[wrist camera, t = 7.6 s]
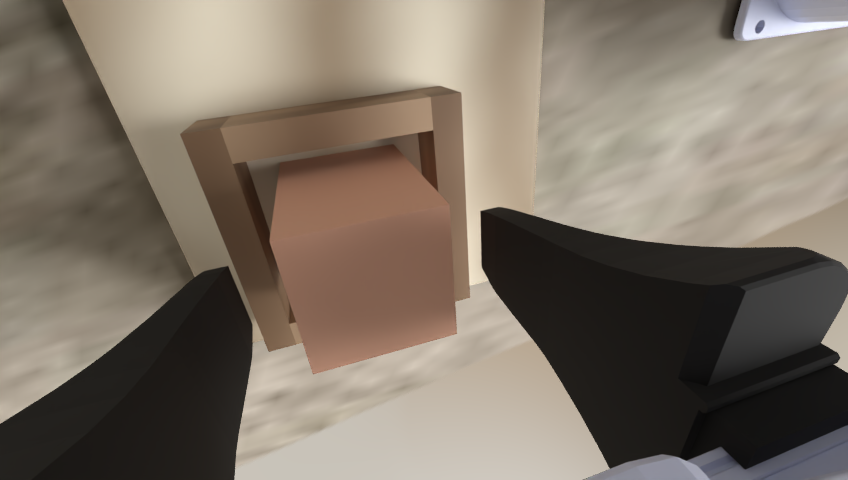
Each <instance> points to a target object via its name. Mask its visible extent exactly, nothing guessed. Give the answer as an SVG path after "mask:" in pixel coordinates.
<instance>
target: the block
mask: <svg viewBox="0 0 848 480" xmlns="http://www.w3.org/2000/svg"><path fill="white" fill-rule="evenodd" d="M269 242H270V245H271V248H272V251H273V254H274V257H275V260H276V263H277V266H278V269H279V272H280V275H281V278H282V281H283V284H284V287H285V290H286V293H287V296H288V299H289V302H290V305H291V308H292V311H293V314H294V317H295V321H296V324H297V327H298V330H299V333H300V336H301V339H302V342H303V345H304V348H305V351H306V354H307V357H308V360H309V363H310V366H311V369H312V372H313V374H316V373H320V372H323V371H327V370H330V369H334V368H337V367H341V366H344V365H348V364H352V363H355V362H359V361H362V360H366V359H369V358H373V357H376V356H380V355H383V354H387V353H391V352H394V351H398V350H401V349H405V348H408V347H412V346H415V345H419V344H422V343H426V342H430V341H433V340H437V339H440V338H444V337H447V336H451V335H454V334H457V327H456V310H455V292H454V274H453V257H452V239H451V222H450V204H449V203H448V202H447V201H446V200H445V199H444V198H443V197H442V196H441V195H440V194H439V193H438V192H437V191H436V189H435V188H434V187H433V186H432V185H431V184H430V183H429V182H428V181H427V180H426V179H425V178H424V177H423V175H422V174H421V173H420V172H419V171H418V170H417V169H416V168H415V167H414V166H413V165H412V164H411V163H410V162H409V160H408V159H407V158H406V157H405V156H404V155H403V154H402V153H401V152H400V151H399V150H398V149H397V148H396V146H395V145H394V144H391V145H384V146H378V147H372V148H366V149H360V150H354V151H348V152H341V153H335V154H329V155H323V156H317V157H311V158H305V159H298V160H292V161H286V162H280V167H279V174H278V182H277V189H276V197H275V204H274V211H273V219H272V226H271V233H270V241H269Z"/></svg>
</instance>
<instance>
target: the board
mask: <svg viewBox="0 0 848 480" xmlns="http://www.w3.org/2000/svg"><path fill="white" fill-rule="evenodd" d="M63 3H64V5H65V7H66V9H67V11H68V13H69V15H70V17H71V19H72V21H73V24H74V26H75V28H76V30H77V32H78V34H79V36H80V38H81V40H82V42H83V44H84V47H85V49H86V51H87V53H88V55H89V57H90V59H91V61H92V63H93V65H94V67H95V70H96V72H97V74H98V76H99V78H100V80H101V82H102V84H103V86H104V88H105V90H106V93H107V95H108V97H109V99H110V101H111V103H112V105H113V107H114V109H115V111H116V114H117V116H118V118H119V120H120V122H121V124H122V126H123V128H124V130H125V132H126V134H127V137H128V139H129V141H130V143H131V145H132V147H133V149H134V151H135V153H136V155H137V157H138V160H139V162H140V164H141V166H142V168H143V170H144V172H145V174H146V176H147V178H148V180H149V183H150V185H151V187H152V189H153V191H154V193H155V195H156V197H157V199H158V201H159V204H160V206H161V208H162V210H163V212H164V214H165V216H166V218H167V220H168V222H169V224H170V227H171V229H172V231H173V233H174V235H175V237H176V239H177V241H178V243H179V245H180V247H181V250H182V252H183V254H184V256H185V258H186V260H187V262H188V264H189V266H190V268H191V270H192V273H193V275H194V277H196V276H197V275H199V274H200V273H202V272H203V271H206V270H211V269H216V268H220V267H225V266H228V267H229V269H230V272H231V274H232V276H233V279H234V281H235V284H236V286H237V288H238V291H239V293H240V296H241V298H242V300H243V303H244V305H245V308H246V310H247V312H248V315H249V317H250V319H251V322H252V324H253V342H257V341H261V340H264V341H265V344H266V346H267V349H268V351H269V352H270V351H273V350H277V349H281V348H284V347H288V346H292V345H296V344H299V343H303V342H302V339H301V336H300V333H299V330H298V327H297V324H296V321H295V317H294V314H293V311H292V308H291V305H290V302H289V299H288V296H287V293H286V290H285V287H284V284H283V281H282V278H281V275H280V272H279V269H278V266H277V263H276V260H275V257H274V254H273V251H272V248H271V245H270V242H269V241H270V233H271V226H272V219H273V211H274V204H275V197H276V189H277V182H278V174H279V167H280V162H286V161H292V160H298V159H305V158H311V157H317V156H323V155H329V154H335V153H341V152H348V151H354V150H360V149H366V148H372V147H378V146H384V145H391V144H394V145H395V146H396V148H397V149H398V150H399V151H400V152H401V153H402V154H403V155H404V156H405V157H406V158H407V159H408V160H409V162H410V163H411V164H412V165H413V166H414V167H415V168H416V169H417V170H418V171H419V172H420V173H421V174H422V175H423V177H424V178H425V179H426V180H427V181H428V182H429V183H430V184H431V185H432V186H433V187H434V188H435V189H436V191H437V192H438V193H439V194H440V195H441V196H442V197H443V198H444V199H445V200H446V201H447V202H448V203H449V204H450V222H451V239H452V257H453V274H454V292H455V301H459V300H463V299H466V298H470V286H471V285H474V284H478V283H482V282H486V281H489V280H488V278H487V276H486V275H485V273H484V271H483V269H482V265H481V217H480V211H482V210H487V209H491V208H496V207H503V208H508V209H512V210H516V211H520V212H523V213H526V214H530V215H533V210H534V192H535V173H536V155H537V137H538V119H539V100H540V82H541V64H542V46H543V27H544V9H545V0H63Z"/></svg>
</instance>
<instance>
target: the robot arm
mask: <svg viewBox="0 0 848 480" xmlns="http://www.w3.org/2000/svg"><path fill="white" fill-rule="evenodd" d="M841 27H848V0H742V2H741V5H740V9H739V13H738V16H737V20H736V24H735V28H734V33H733V34H734V38H735V39H736V40H737V41H749V40H756V39H763V38H770V37H777V36H784V35H791V34H798V33H805V32H812V31H820V30H827V29H834V28H841ZM480 217H481V265H482V269H483V271H484V273H485V275H486V276H487V278H488V280H489V282H490V284H491V285H492V287H493V289H494V290H495V292H496V293H497V295H498V296H499V297H500V299H501V300H502V301H503V302H504V304H505V305H506V306H507V308H508V309H509V310H510V311H511V313H512V314H513V315H514V316H515V318H516V319H517V320H518V321H519V323H520V324H521V325H522V327H523V328H524V329H525V330H526V332H527V333H528V334H529V335H530V337H531V338H532V339H533V340H534V342H535V343H536V344H537V346H538V347H539V348H540V350H541V351H542V352H543V354H544V355H545V357H546V358H547V360H548V361H549V363H550V365H551V366H552V368H553V369H554V371H555V373H556V374H557V376H558V377H559V379H560V381H561V382H562V384H563V386H564V387H565V389H566V391H567V392H568V394H569V395H570V397H571V399H572V401H573V402H574V404H575V406H576V408H577V409H578V411H579V413H580V414H581V416H582V418H583V420H584V421H585V423H586V425H587V427H588V429H589V431H590V432H591V434H592V436H593V438H594V440H595V442H596V443H597V445H598V447H599V449H600V451H601V452H602V454H603V456H604V458H605V460H606V462H607V464H608V466H609V468H610V469H609V470H606V471H604V472H601V473H599V474H596V475H593V476H591V477H588V478H586V479H584V480H848V373H847V372H845V371H843V370H842V369H840V368H838V367H837V366H835V365H834V364H835V363H837V362H838V360H839V359H840V357H839V354H838V353H837V352H835V351H833V350H832V349H830V348H828V347H826V346H825V345H823V344H821V342H822V340H823V338H824V336H825V335H826V333H827V331H828V330H829V328H830V326H831V324H832V322H833V321H834V319H835V317H836V316H837V314H838V312H839V311H840V309H841V307H842V305H843V303H844V301H845V298H846V296H847V294H848V270H847V268H846V267H845V266H844V265H843V264H842V263H841V262H839V261H836V260H834V259H831V258H829V257H826V256H824V255H822V254H819V253H817V252H814V251H812V250H808V249H804V248H799V247H770V248H769V247H767V248H766V247H765V248H726V247H700V246H685V245H673V244H664V243H654V242H646V241H638V240H631V239H626V238H620V237H614V236H609V235H604V234H599V233H594V232H590V231H586V230H582V229H578V228H574V227H570V226H567V225H563V224H560V223H556V222H553V221H549V220H546V219H543V218H540V217H536V216H533V215H530V214H526V213H523V212H520V211H516V210H512V209H508V208H503V207H496V208H491V209H487V210H482V211H480ZM252 344H253V324H252V322H251V319H250V317H249V315H248V312H247V310H246V308H245V305H244V303H243V300H242V298H241V296H240V293H239V291H238V288H237V286H236V284H235V281H234V279H233V276H232V274H231V272H230V269H229V267H228V266H225V267H220V268H216V269H211V270H206V271H203V272H202V273H200V274H199V275H197V276H196V277H195V278H194V279H192V280H191V281H190V282H189V283H188V284H187V285H185V286H184V287H183V288H182V289H181V290H180V291H179V292H178V293H176V294H175V295H174V296H173V297H172V298H171V299H170V300H169V301H168V302H166V303H165V304H164V305H163V306H162V307H161V308H160V309H159V310H157V311H156V312H155V313H154V314H153V315H152V316H151V317H150V318H148V319H147V320H146V321H145V322H144V323H142V324H141V325H140V326H139V327H138V328H136V329H135V330H134V331H133V332H131V333H130V334H129V335H128V336H127V337H125V338H124V339H123V340H122V341H121V342H119V343H118V344H117V345H116V346H115V347H113V348H112V349H111V350H109V351H108V352H107V353H106V354H104V355H103V356H102V357H100V358H99V359H98V360H96V361H95V362H94V363H92V364H91V365H90V366H88V367H87V368H85V369H84V370H82V371H81V372H80V373H78V374H77V375H75V376H74V377H73V378H71V379H70V380H68V381H67V382H65V383H64V384H62V385H61V386H59V387H58V388H57V389H55V390H54V391H52V392H50V393H49V394H47V395H46V396H44V397H42V398H41V399H39V400H38V401H36V402H34V403H33V404H31V405H30V406H28V407H26V408H25V409H23V410H22V411H20V412H19V413H17V414H15V415H14V416H12V417H11V418H9V419H7V420H6V421H4V422H3V423H1V424H0V480H234V475H235V460H236V449H237V442H238V434H239V429H240V423H241V417H242V412H243V406H244V401H245V395H246V390H247V384H248V378H249V372H250V367H251V360H252Z"/></svg>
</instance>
